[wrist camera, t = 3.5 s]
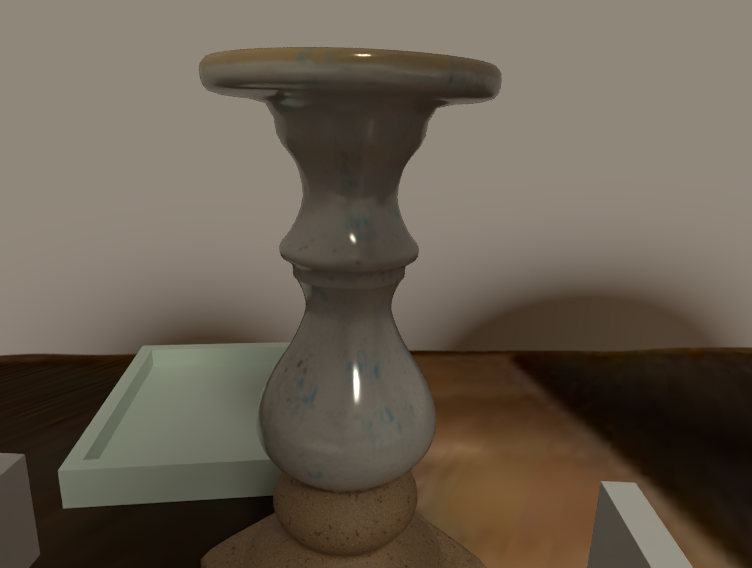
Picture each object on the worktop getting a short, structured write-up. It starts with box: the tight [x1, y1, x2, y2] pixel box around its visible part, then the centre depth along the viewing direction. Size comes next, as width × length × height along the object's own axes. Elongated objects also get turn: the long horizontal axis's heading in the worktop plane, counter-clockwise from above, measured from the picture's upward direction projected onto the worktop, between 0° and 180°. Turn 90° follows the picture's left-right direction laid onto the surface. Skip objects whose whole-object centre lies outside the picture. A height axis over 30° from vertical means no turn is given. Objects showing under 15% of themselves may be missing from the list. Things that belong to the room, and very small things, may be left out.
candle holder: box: [199, 47, 501, 568], centre depth 23 cm, size 11×11×24 cm
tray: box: [58, 342, 291, 509], centre depth 43 cm, size 19×19×2 cm
